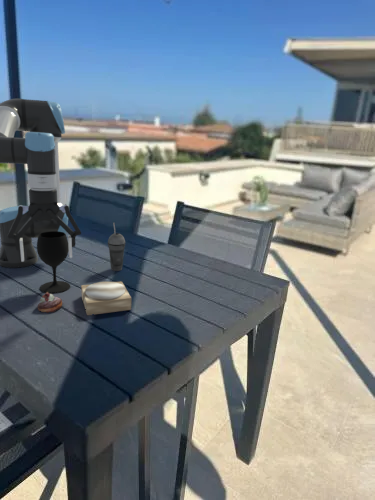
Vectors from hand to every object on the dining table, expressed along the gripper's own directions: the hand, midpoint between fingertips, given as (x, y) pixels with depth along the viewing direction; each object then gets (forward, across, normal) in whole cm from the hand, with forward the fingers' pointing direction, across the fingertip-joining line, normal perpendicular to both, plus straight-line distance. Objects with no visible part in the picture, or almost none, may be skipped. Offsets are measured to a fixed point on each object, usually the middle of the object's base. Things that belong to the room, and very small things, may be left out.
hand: (47, 258), depth 107 cm
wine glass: (+17, +3, +16) cm, 23 cm away
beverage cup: (+17, +28, +28) cm, 43 cm away
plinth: (+17, +17, -1) cm, 24 cm away
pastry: (+17, 0, +1) cm, 17 cm away
